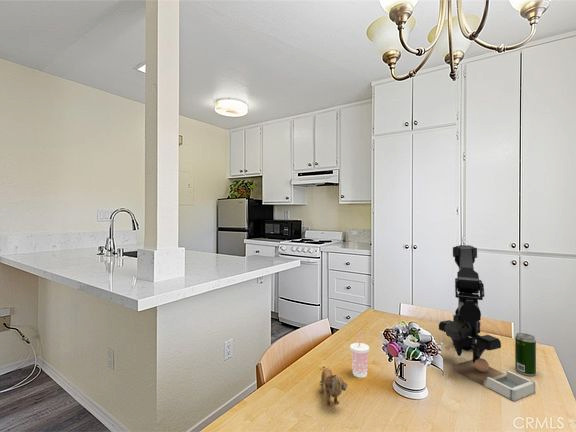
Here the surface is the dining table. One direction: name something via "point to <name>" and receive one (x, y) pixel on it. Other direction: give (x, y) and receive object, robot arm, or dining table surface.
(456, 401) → the dining table surface
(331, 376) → the lion figurine
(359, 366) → the beverage cup
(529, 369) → the beer can
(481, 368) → the ball
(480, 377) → the runway
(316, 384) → the dining table surface
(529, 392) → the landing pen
